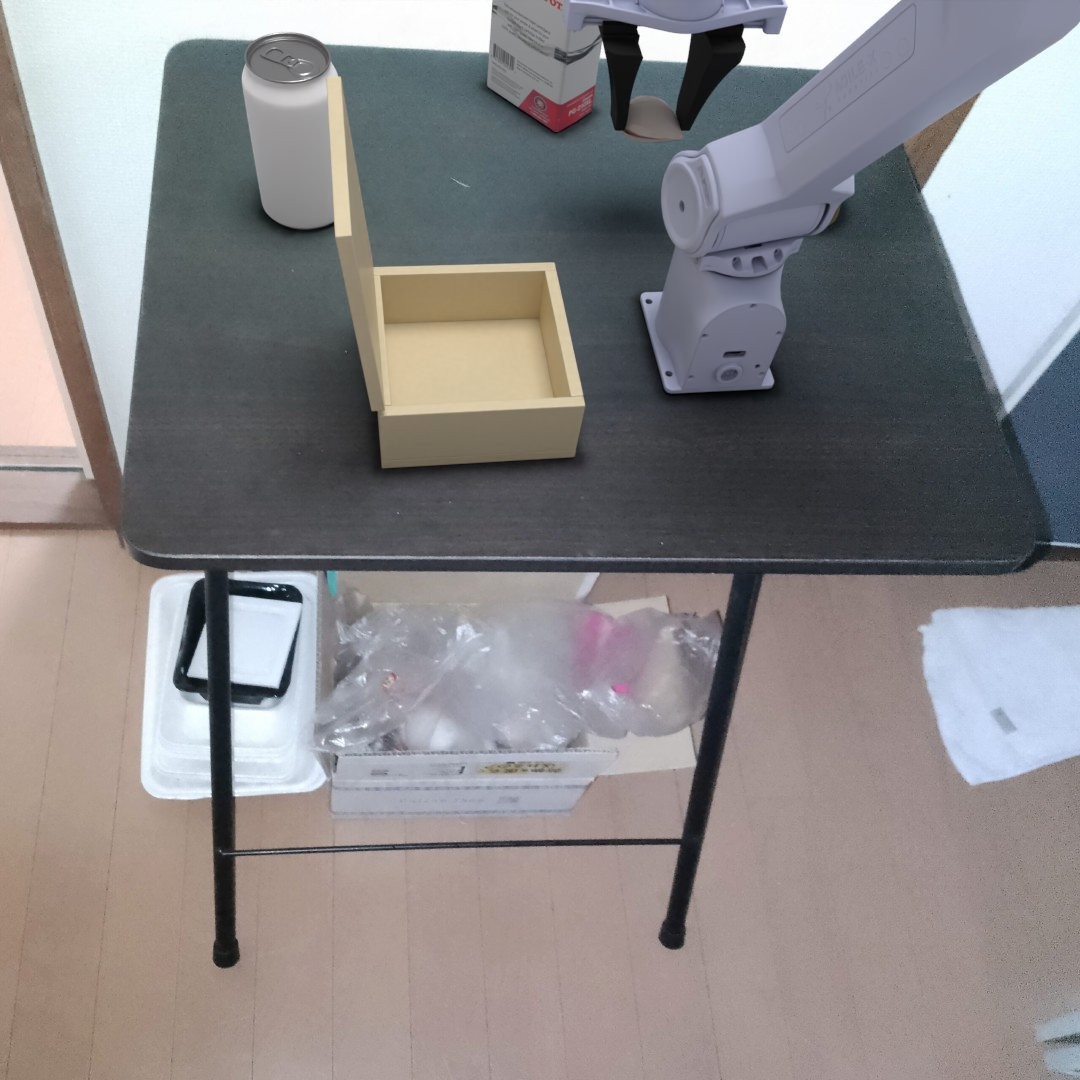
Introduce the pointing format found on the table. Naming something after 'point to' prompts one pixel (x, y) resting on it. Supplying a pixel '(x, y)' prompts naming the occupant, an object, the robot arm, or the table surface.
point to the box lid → (354, 242)
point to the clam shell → (651, 121)
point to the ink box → (542, 61)
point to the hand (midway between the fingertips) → (650, 122)
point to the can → (290, 127)
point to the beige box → (475, 365)
